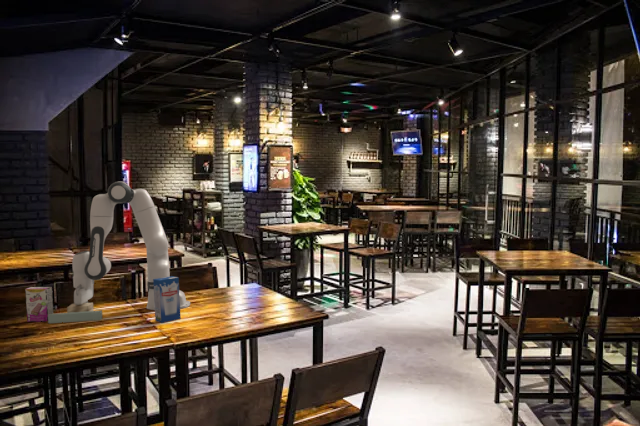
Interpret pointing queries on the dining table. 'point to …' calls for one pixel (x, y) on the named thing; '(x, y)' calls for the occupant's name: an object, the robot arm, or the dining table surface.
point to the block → (80, 307)
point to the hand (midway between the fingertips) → (84, 309)
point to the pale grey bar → (75, 316)
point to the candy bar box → (39, 303)
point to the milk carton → (166, 299)
